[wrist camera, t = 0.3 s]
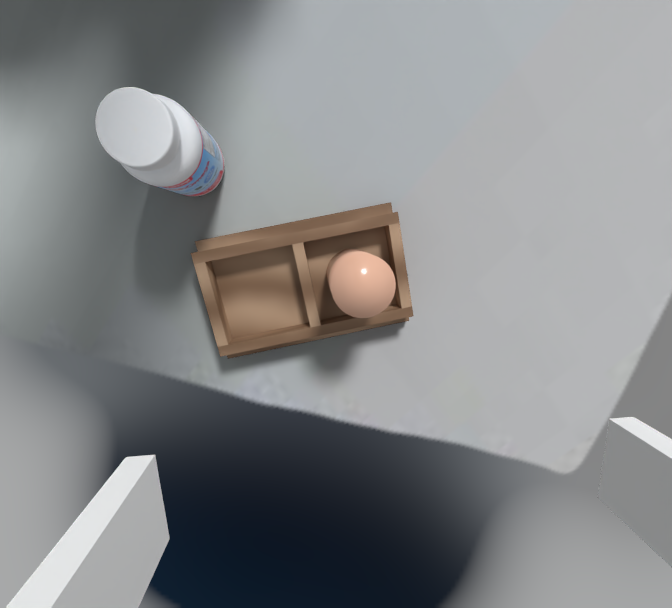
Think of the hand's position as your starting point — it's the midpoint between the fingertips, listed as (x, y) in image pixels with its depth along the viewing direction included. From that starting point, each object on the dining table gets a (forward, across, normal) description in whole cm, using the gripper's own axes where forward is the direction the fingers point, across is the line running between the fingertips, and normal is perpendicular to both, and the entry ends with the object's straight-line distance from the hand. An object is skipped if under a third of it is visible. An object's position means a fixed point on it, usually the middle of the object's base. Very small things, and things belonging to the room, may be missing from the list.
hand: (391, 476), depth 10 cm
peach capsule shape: (+26, +2, +2) cm, 26 cm away
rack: (+26, -2, +2) cm, 27 cm away
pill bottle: (+27, -12, +13) cm, 32 cm away
